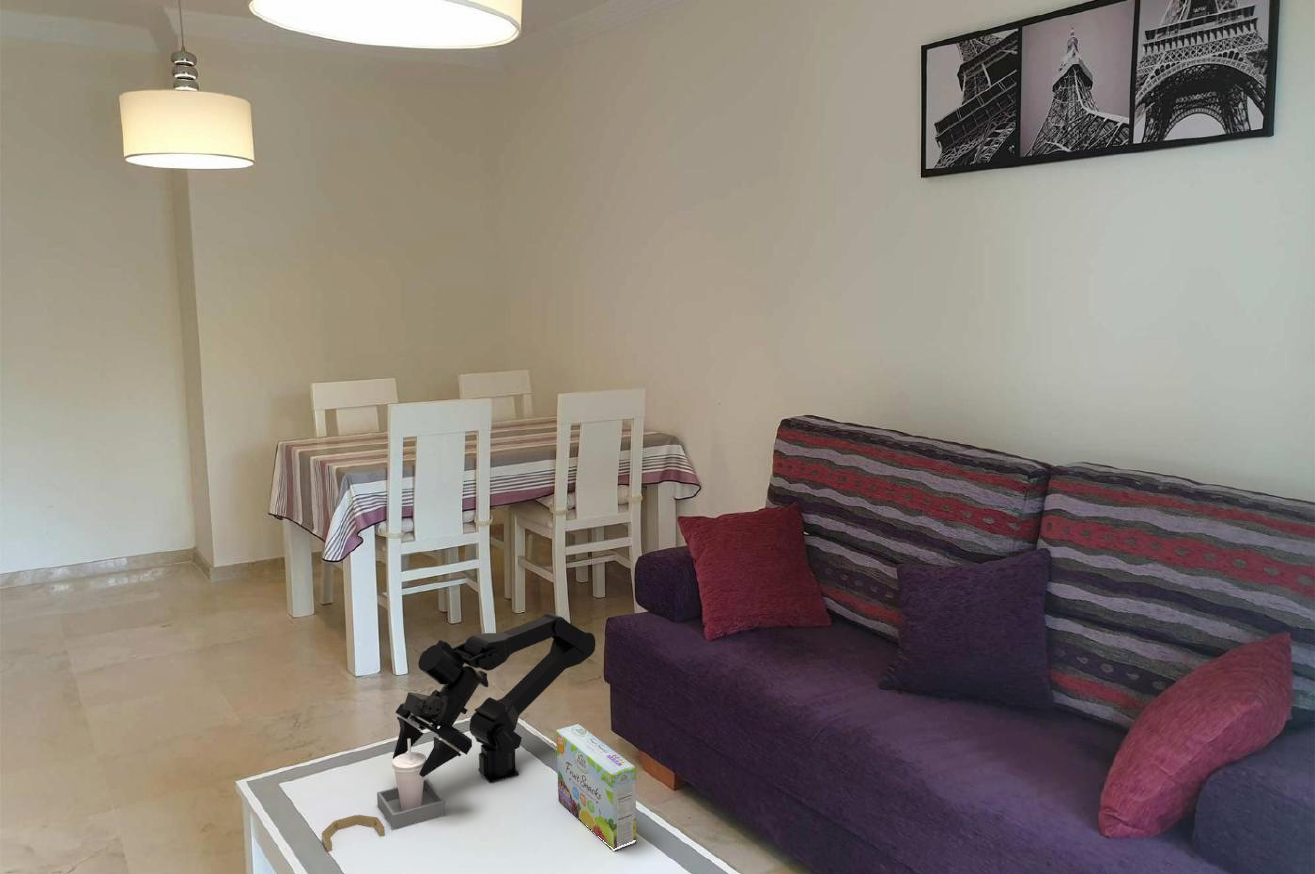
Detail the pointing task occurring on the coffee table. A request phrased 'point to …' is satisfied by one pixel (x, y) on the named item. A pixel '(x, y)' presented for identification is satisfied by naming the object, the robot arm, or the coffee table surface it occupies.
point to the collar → (347, 823)
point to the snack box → (596, 785)
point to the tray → (398, 818)
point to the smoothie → (409, 778)
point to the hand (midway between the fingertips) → (407, 767)
